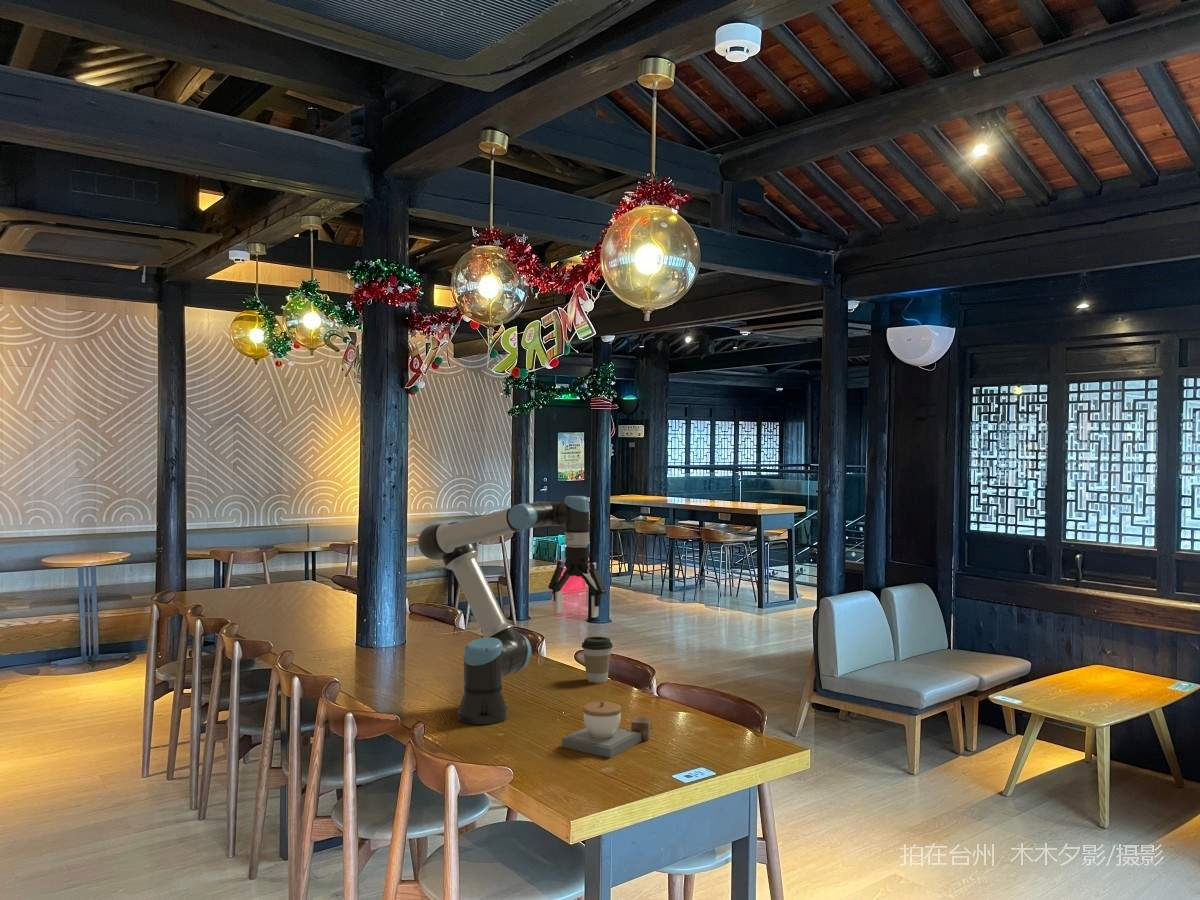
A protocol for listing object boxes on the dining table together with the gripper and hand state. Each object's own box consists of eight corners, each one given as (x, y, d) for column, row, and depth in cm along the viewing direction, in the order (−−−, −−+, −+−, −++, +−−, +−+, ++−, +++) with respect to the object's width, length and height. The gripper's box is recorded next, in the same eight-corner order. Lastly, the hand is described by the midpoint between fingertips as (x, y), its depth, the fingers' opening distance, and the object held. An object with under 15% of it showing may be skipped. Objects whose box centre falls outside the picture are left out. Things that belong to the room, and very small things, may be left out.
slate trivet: (562, 746, 233) (562, 737, 233) (594, 731, 246) (594, 722, 246) (610, 758, 224) (610, 748, 224) (641, 741, 237) (641, 732, 237)
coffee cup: (614, 677, 308) (614, 636, 308) (611, 685, 297) (611, 642, 297) (583, 676, 309) (583, 635, 309) (579, 684, 298) (579, 642, 298)
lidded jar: (588, 742, 228) (588, 707, 228) (578, 730, 239) (579, 697, 239) (626, 739, 231) (626, 704, 231) (615, 727, 241) (615, 694, 242)
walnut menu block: (631, 739, 239) (631, 722, 239) (634, 734, 244) (635, 716, 244) (648, 741, 238) (648, 723, 238) (651, 735, 243) (651, 718, 243)
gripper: (537, 544, 264) (537, 612, 263) (604, 549, 250) (603, 620, 250) (551, 542, 270) (551, 608, 270) (617, 547, 256) (617, 616, 256)
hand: (576, 614), depth 260 cm, fingers open, 13 cm apart
